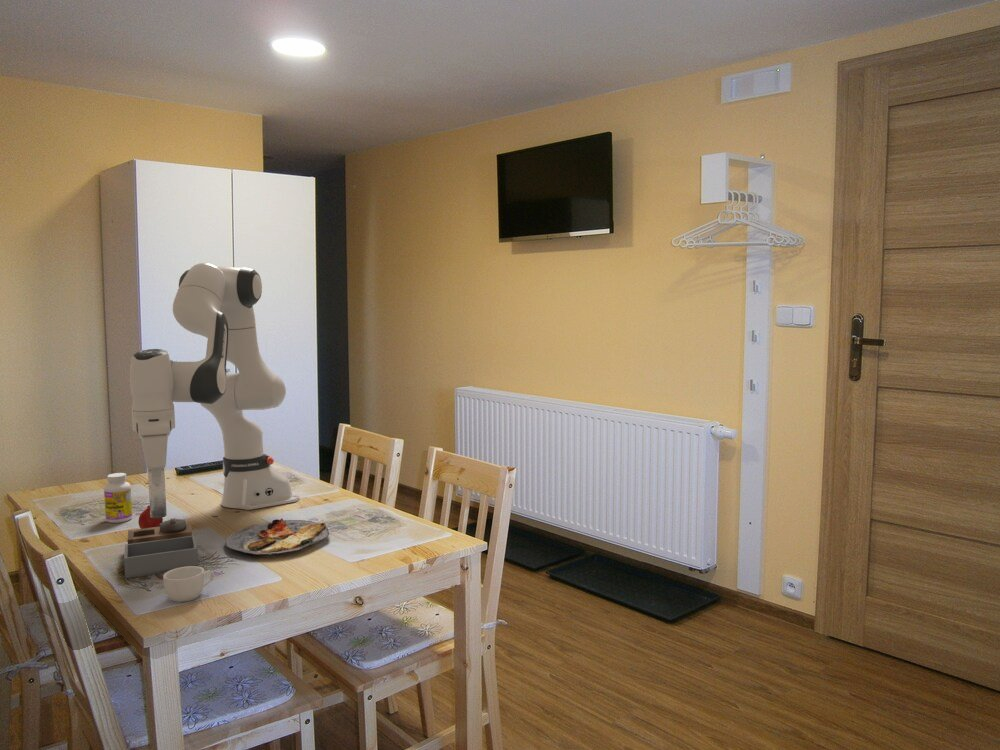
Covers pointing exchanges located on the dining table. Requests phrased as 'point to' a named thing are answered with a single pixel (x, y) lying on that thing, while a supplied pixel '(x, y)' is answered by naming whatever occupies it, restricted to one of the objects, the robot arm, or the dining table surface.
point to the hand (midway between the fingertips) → (156, 481)
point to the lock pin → (157, 496)
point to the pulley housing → (161, 531)
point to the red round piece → (148, 519)
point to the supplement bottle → (117, 499)
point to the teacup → (185, 583)
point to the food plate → (277, 536)
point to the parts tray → (159, 556)
